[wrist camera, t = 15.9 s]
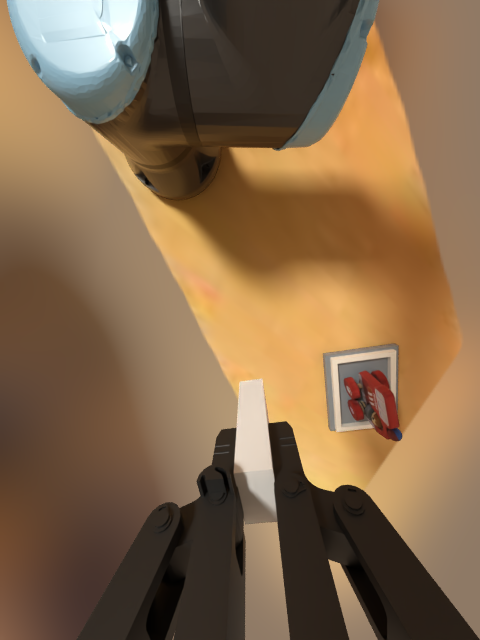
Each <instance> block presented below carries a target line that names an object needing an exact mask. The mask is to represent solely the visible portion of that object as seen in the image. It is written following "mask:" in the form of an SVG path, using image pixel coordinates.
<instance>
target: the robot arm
mask: <svg viewBox="0 0 480 640" xmlns="http://www.w3.org/2000/svg"><path fill="white" fill-rule="evenodd" d="M378 3H379V0H7V5H8V10H9V15H10V19H11V23H12V26H13V29H14V32H15V34H16V37H17V40H18V42H19V44H20V46H21V49H22V51H23V53H24V55H25V57H26V59H27V60H28V62H29V64H30V65H31V67H32V68H33V70H34V71H35V73H36V74H37V75H38V77H39V78H40V79H41V80H42V82H43V83H44V84H45V85H46V86H47V87H48V88H49V89H50V90H51V91H52V92H53V93H54V94H55V95H56V96H57V97H59V98H60V99H61V100H62V102H63V103H64V104H65V105H66V106H67V108H68V109H69V111H70V112H72V113H73V114H74V115H75V116H76V117H78V118H80V119H82V120H83V121H85V122H86V123H87V124H88V125H90V126H91V127H92V128H93V129H95V130H96V131H97V132H98V133H100V134H101V135H102V136H103V137H104V138H106V139H107V140H108V141H109V142H111V143H112V144H113V145H114V146H115V147H117V148H118V149H119V150H120V151H121V152H123V153H124V155H125V157H126V159H127V161H128V164H129V166H130V168H131V169H132V171H133V173H134V174H135V175H136V177H137V178H138V179H139V180H140V181H141V182H142V183H143V184H144V185H145V186H146V187H147V188H149V189H150V190H151V191H153V192H154V193H156V194H158V195H160V196H162V197H164V198H168V199H172V200H183V199H188V198H191V197H194V196H196V195H198V194H199V193H201V192H202V191H203V190H204V189H205V188H206V187H207V186H208V185H209V184H210V183H211V181H212V180H213V178H214V176H215V174H216V172H217V169H218V166H219V162H220V156H221V147H242V148H273V149H274V150H276V151H280V150H283V149H286V148H299V147H308V146H311V145H312V144H315V143H316V142H318V141H319V140H321V139H322V138H323V137H324V135H325V134H326V133H327V132H328V131H329V129H330V128H331V127H332V125H333V124H334V122H335V120H336V119H337V117H338V115H339V113H340V112H341V110H342V108H343V106H344V104H345V102H346V99H347V97H348V95H349V93H350V91H351V88H352V86H353V84H354V81H355V79H356V76H357V74H358V71H359V68H360V66H361V63H362V60H363V57H364V54H365V51H366V47H367V42H366V38H367V35H368V33H369V31H370V28H371V26H372V24H373V22H374V20H375V16H376V12H377V8H378ZM197 485H198V488H199V492H200V495H201V496H200V497H199V498H198V499H197V500H195V501H194V502H192V503H190V504H187V505H185V506H183V507H181V508H179V507H178V505H177V504H175V503H172V502H171V503H170V502H168V503H165V504H162V505H159V506H158V507H157V508H156V509H154V510H153V511H152V513H151V514H150V515H149V517H148V518H147V520H146V522H145V523H144V525H143V527H142V528H141V530H140V532H139V533H138V535H137V537H136V539H135V540H134V542H133V544H132V545H131V547H130V549H129V551H128V552H127V554H126V556H125V557H124V559H123V561H122V563H121V564H120V566H119V568H118V569H117V571H116V573H115V575H114V576H113V578H112V580H111V582H110V583H109V585H108V587H107V588H106V590H105V592H104V594H103V595H102V597H101V599H100V600H99V602H98V604H97V605H96V607H95V609H94V611H93V612H92V614H91V616H90V618H89V619H88V621H87V623H86V624H85V626H84V628H83V630H82V631H81V633H80V635H79V636H78V638H77V640H172V638H173V636H174V640H245V536H244V531H243V526H244V521H245V524H253V523H265V522H278V532H279V541H280V550H281V559H282V568H283V578H284V587H285V596H286V604H287V614H288V624H289V632H290V640H349V637H348V633H347V629H346V626H345V622H344V618H343V615H342V611H341V607H340V603H339V599H338V595H337V591H336V588H335V584H334V580H333V576H332V572H331V569H330V565H329V561H328V559H329V560H332V561H335V562H338V563H340V564H341V566H342V568H343V570H344V572H345V574H346V576H347V578H348V580H349V582H350V584H351V586H352V588H353V590H354V592H355V594H356V596H357V598H358V600H359V602H360V604H361V606H362V608H363V610H364V612H365V614H366V616H367V618H368V621H369V623H370V625H371V626H372V629H373V631H374V633H375V635H376V637H377V638H378V640H480V639H479V638H478V637H477V635H476V634H475V633H474V631H473V630H472V629H471V628H470V626H469V625H468V624H467V622H466V621H465V620H464V618H463V617H462V616H461V614H460V613H459V612H458V611H457V609H456V608H455V607H454V605H453V604H452V603H451V602H450V600H449V599H448V598H447V596H446V595H445V594H444V592H443V591H442V590H441V588H440V587H439V586H438V585H437V583H436V582H435V581H434V579H433V578H432V577H431V576H430V574H429V573H428V572H427V570H426V569H425V568H424V566H423V565H422V564H421V562H420V561H419V560H418V559H417V557H416V556H415V555H414V553H413V552H412V551H411V549H410V548H409V547H408V546H407V544H406V543H405V542H404V540H403V539H402V538H401V536H400V535H399V534H398V533H397V531H396V530H395V529H394V527H393V526H392V525H391V523H390V522H389V521H388V520H387V518H386V517H385V516H384V515H383V513H382V512H381V510H380V509H379V508H378V507H377V505H376V504H375V503H374V502H373V500H372V499H371V497H370V496H368V494H366V492H364V491H363V490H361V489H360V488H358V487H356V486H352V485H342V486H340V487H338V488H337V489H336V490H335V492H332V491H327V490H323V489H320V488H318V487H316V486H314V485H313V484H312V483H311V482H309V481H308V479H307V478H306V476H305V474H304V471H303V468H302V464H301V460H300V456H299V452H298V448H297V445H296V441H295V437H294V433H293V429H292V427H291V426H290V425H289V424H288V423H287V421H285V422H276V423H269V419H268V412H267V406H266V399H265V393H264V387H263V381H262V379H256V380H248V381H241V382H240V386H239V401H238V417H237V428H231V429H223V430H221V431H220V433H219V435H218V436H217V438H216V444H215V450H214V455H213V461H212V465H211V466H209V467H207V468H206V469H204V470H203V471H202V472H201V473H200V475H199V477H198V479H197ZM243 520H244V521H243ZM174 633H175V635H174Z"/></svg>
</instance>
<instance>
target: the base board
mask: <svg viewBox="0 0 480 640" xmlns="http://www.w3.org/2000/svg"><path fill="white" fill-rule="evenodd" d="M323 362H324V374H325V387H326V399H327V412H328V424H329V429H330V431H335V430H336V431H337V432H342V431H351V430H360V429H369V428H374V427H373V426H372V425H371V424H370V422H369V421H368V419H367V417H366V415H364V419H363V420H359V421H356V420H355V419H354V418H353V416H352V414H351V412H350V410H349V407H348V400H350V399H351V398H350V396H349V395H348V393H347V391H346V388H345V385H344V379H345V378H348V377H352V378H353V379H354V380H355V382H356V383H357V384H359V376H358V374H359V372H362V371H365V370H366V371H368V372H369V373H370V374H371V372H372V371H376V370H380V371H381V372H383V373H384V375H385V376H386V378H387V380H388V382H389V389H390V390H391V391H392V393H393V394H394V396H395V402H396V409H397V410H398V345H396V344H388V345H380V346H373V347H366V348H359V349H352V350H345V351H338V352H330V353H323ZM359 390H360V394H361V396H360V398H358V399H356V400H357V401H358V402H359V401H363V402H364V400H363V395H362V391H361V389H359Z"/></svg>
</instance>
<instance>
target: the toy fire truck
mask: <svg viewBox="0 0 480 640" xmlns="http://www.w3.org/2000/svg"><path fill="white" fill-rule="evenodd" d="M358 376H359V384H357V383H356V382H355V380H354V379H353V378H352V377H348V378H345V379H344V385H345V388H346V391H347V393H348V395H349V396H350V398H351V399H350V400H348V407H349V410H350V412H351V414H352V416H353V418H354V419H355V420H356V421H359V420H363V419H364V415H366V417H367V419H368V421H369V422H370V424H371V425H372V426H373V427H374V429H375V430H376V431H377V432H378V433H379V434H380V435H382V436H383V437H385V438H386V439H392V440H393V441H400V440H401V439H402V433H401V432H400V430H399V429H397V428H398V427H399V420H398V415H397V409H396V402H395V396H394V394H393V393H392V391H391V390H390V389H389V382H388V380H387V378H386V376H385V375H384V373H383V372H381V371H380V370H376V371H372V372H371V374H370V373H369V372H368V371H366V370H365V371H362V372H359V374H358ZM359 389H361V391H362V395H363V400H364V402H363V401H359V402H358V401H357V400H356V399H358V398H360V396H361V394H360V390H359Z"/></svg>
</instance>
